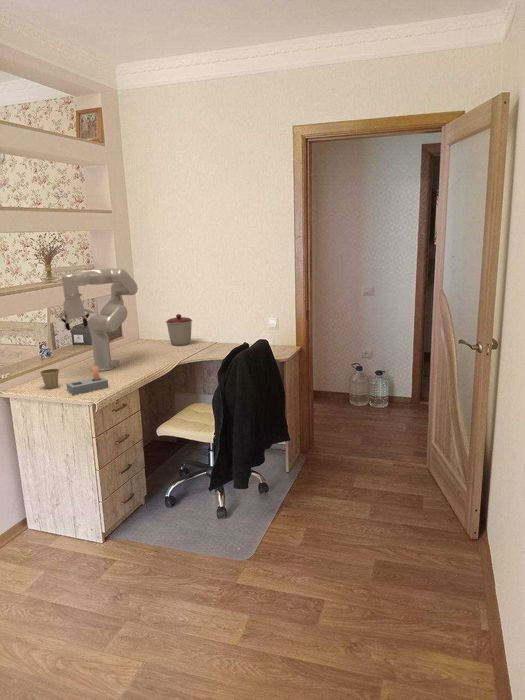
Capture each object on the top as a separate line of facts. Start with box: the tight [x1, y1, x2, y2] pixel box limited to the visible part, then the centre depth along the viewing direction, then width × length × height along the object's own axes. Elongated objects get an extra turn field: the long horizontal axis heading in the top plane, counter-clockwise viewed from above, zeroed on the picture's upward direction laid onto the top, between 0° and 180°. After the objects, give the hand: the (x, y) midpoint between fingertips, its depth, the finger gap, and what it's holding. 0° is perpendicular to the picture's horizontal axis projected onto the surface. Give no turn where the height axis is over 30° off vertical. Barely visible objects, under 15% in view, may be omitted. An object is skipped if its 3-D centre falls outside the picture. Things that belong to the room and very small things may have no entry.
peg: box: [91, 365, 100, 381], centre depth 274 cm, size 3×3×11 cm
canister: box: [165, 313, 193, 347], centre depth 364 cm, size 18×18×21 cm
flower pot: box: [39, 368, 60, 389], centre depth 278 cm, size 9×9×9 cm
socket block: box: [65, 375, 109, 396], centre depth 271 cm, size 18×10×4 cm, turn 127°
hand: (77, 328), depth 289 cm, fingers open, 9 cm apart
